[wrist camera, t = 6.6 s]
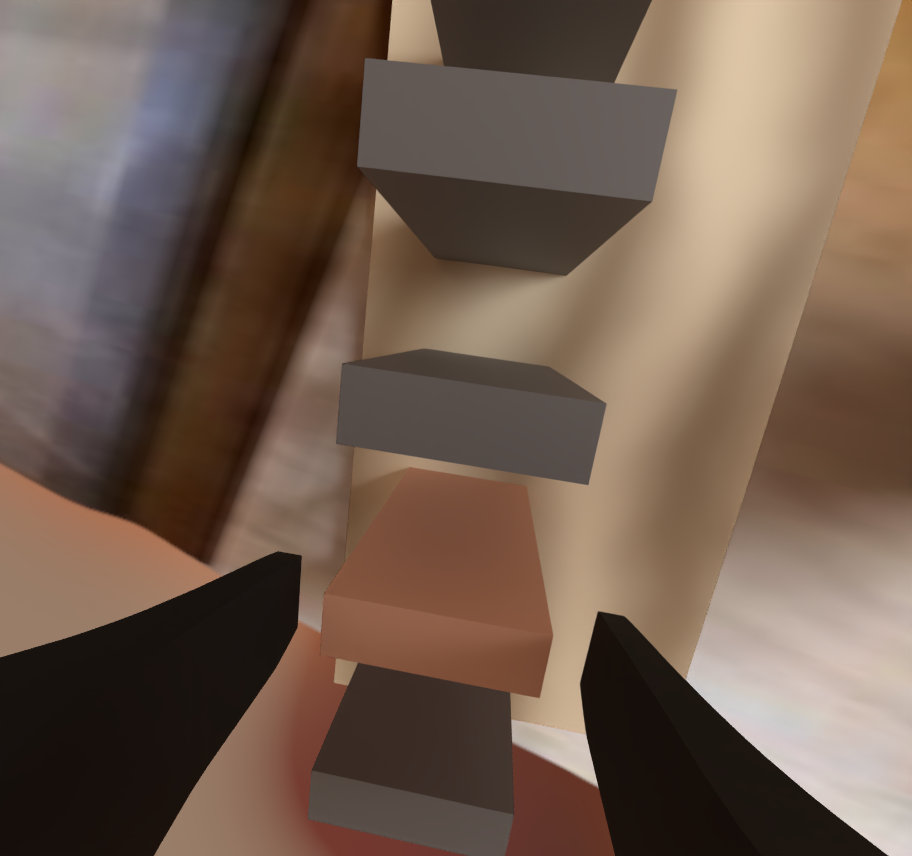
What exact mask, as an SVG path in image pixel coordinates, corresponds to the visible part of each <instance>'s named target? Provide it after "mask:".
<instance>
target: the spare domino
mask: <svg viewBox="0 0 912 856" xmlns="http://www.w3.org/2000/svg"><path fill="white" fill-rule="evenodd" d="M552 640H553V631H552V626H551V620H550V615H549V609H548V603H547V598H546V592H545V587H544V581H543V575H542V570H541V564H540V559H539V553H538V547H537V542H536V536H535V531H534V525H533V519H532V514H531V508H530V503H529V497H528V491H527V486H524V485H518V484H512V483H505V482H499V481H493V480H487V479H481V478H475V477H469V476H462V475H456V474H450V473H444V472H438V471H432V470H426V469H419V468H413V467H409V469H408V470H407V472H406V473H405V475H404V476H403V477H402V479H401V480H400V482H399V483H398V485H397V486H396V488H395V489H394V491H393V492H392V494H391V495H390V497H389V498H388V500H387V501H386V503H385V504H384V506H383V507H382V509H381V510H380V512H379V513H378V514H377V516H376V517H375V519H374V520H373V522H372V523H371V525H370V526H369V528H368V529H367V531H366V532H365V534H364V535H363V537H362V538H361V540H360V541H359V543H358V544H357V546H356V547H355V548H354V550H353V551H352V553H351V554H350V556H349V557H348V559H347V560H346V562H345V563H344V565H343V566H342V568H341V569H340V571H339V572H338V574H337V575H336V577H335V578H334V580H333V581H332V583H331V584H330V585H329V587H328V588H327V590H326V591H325V593H324V601H323V615H322V629H321V644H320V655H322V656H327V657H332V658H337V659H342V660H347V661H352V662H357V663H362V664H367V665H372V666H378V667H383V668H388V669H393V670H398V671H403V672H408V673H413V674H418V675H423V676H428V677H434V678H439V679H444V680H449V681H454V682H459V683H464V684H469V685H474V686H479V687H484V688H489V689H495V690H500V691H505V692H510V693H515V694H520V695H525V696H530V697H535V698H540V695H541V690H542V686H543V681H544V677H545V672H546V668H547V663H548V658H549V654H550V649H551V645H552Z"/></svg>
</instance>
